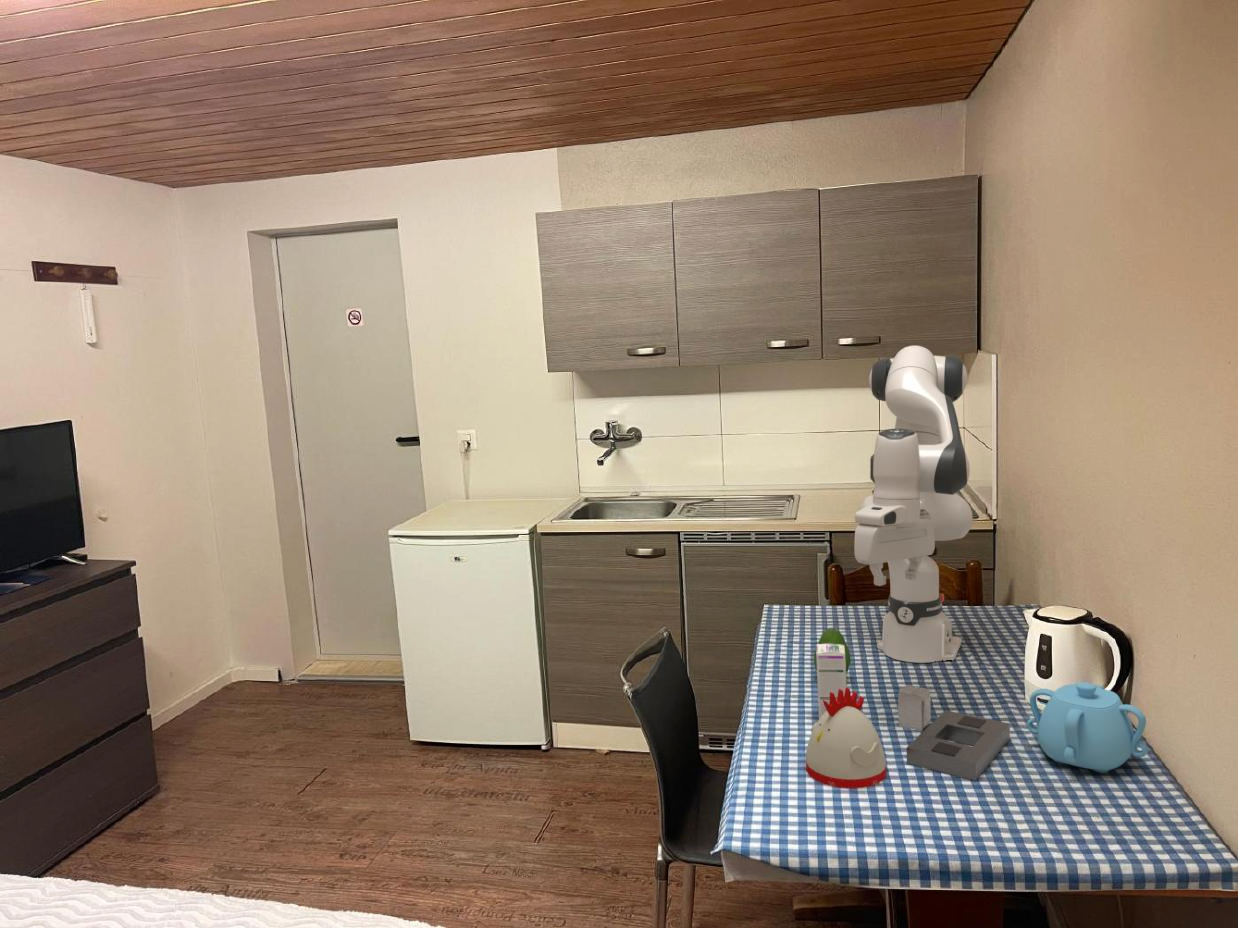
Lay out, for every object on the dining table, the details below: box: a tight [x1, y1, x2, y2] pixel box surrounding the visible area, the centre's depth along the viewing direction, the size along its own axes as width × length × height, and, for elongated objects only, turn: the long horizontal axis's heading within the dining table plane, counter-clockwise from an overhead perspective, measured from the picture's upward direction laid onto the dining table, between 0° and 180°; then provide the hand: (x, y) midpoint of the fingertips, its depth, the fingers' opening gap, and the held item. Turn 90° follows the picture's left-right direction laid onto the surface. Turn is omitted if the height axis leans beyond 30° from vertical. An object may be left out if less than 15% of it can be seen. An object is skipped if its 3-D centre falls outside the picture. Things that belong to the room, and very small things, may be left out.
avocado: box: [813, 627, 851, 674], centre depth 203 cm, size 8×8×12 cm
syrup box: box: [815, 643, 848, 720], centre depth 182 cm, size 6×6×14 cm
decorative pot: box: [1026, 681, 1149, 774], centre depth 160 cm, size 16×16×14 cm
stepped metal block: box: [897, 684, 932, 732], centre depth 177 cm, size 4×5×7 cm
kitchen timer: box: [805, 686, 887, 789], centre depth 160 cm, size 14×14×15 cm
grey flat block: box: [906, 709, 1011, 782], centre depth 165 cm, size 20×12×3 cm, turn 141°
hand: (895, 582), depth 178 cm, fingers open, 8 cm apart
